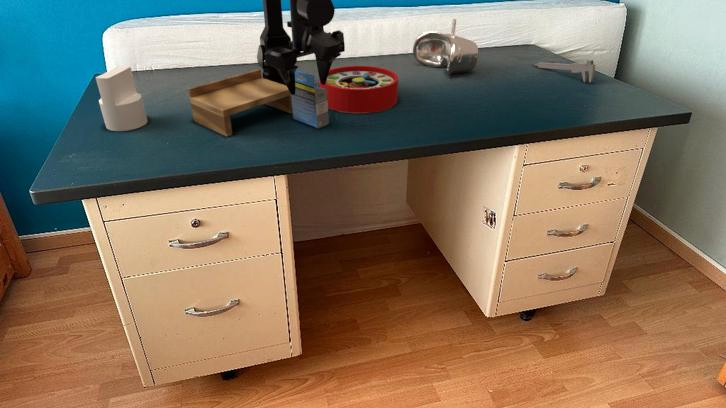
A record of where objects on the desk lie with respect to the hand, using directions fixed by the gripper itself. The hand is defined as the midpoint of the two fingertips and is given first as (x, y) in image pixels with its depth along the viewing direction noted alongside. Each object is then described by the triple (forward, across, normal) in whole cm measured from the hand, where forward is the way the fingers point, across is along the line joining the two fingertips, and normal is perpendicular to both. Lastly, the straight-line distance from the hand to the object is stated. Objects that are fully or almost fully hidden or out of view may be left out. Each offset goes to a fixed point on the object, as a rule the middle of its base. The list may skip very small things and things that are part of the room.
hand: (308, 89), depth 113 cm
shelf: (+8, -8, +14) cm, 18 cm away
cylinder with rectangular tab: (+8, -29, +31) cm, 43 cm away
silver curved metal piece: (+8, +56, +1) cm, 57 cm away
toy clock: (+8, +19, +2) cm, 21 cm away
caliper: (+8, +75, -28) cm, 81 cm away
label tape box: (+8, 0, 0) cm, 8 cm away
